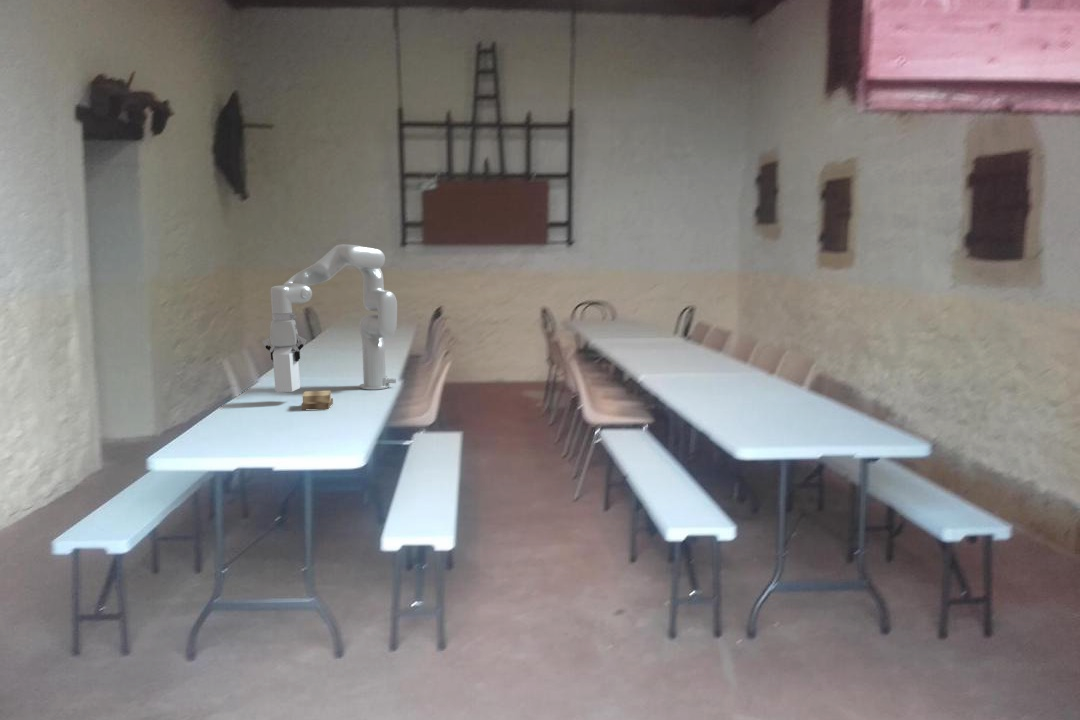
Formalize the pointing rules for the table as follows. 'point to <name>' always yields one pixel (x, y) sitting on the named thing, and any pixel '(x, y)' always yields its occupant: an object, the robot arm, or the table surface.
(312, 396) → the top slab
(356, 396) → the table surface
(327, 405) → the bottom slab
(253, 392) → the table surface
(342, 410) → the table surface
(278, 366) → the milk carton
